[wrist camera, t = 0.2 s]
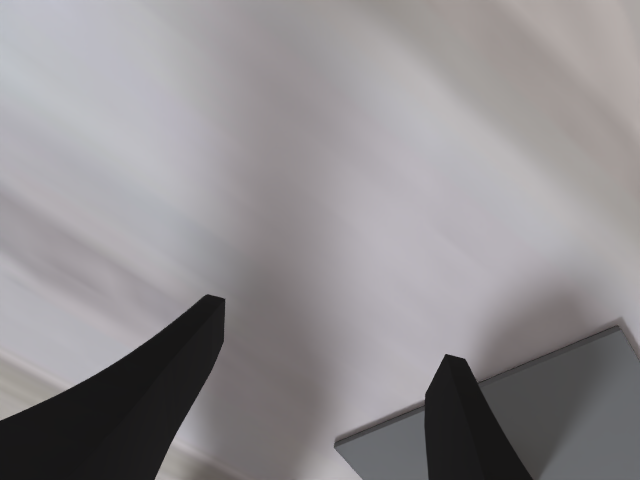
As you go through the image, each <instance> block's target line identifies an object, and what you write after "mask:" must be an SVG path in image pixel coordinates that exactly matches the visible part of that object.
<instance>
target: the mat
mask: <svg viewBox="0 0 640 480" xmlns="http://www.w3.org/2000/svg"><path fill="white" fill-rule="evenodd" d="M478 385H479V387H480V389H481V391H482V393H483V395H484V397H485V399H486V401H487V403H488V405H489V406H490V408H491V410H492V412H493V414H494V416H495V417H496V419H497V421H498V423H499V425H500V426H501V428H502V430H503V432H504V434H505V435H506V437H507V439H508V440H509V442H510V444H511V445H512V447H513V449H514V450H515V452H516V454H517V455H518V457H519V458H520V460H521V462H522V463H523V465H524V466H525V468H526V469H527V471H528V472H529V474H530V475H531V477H532V478H533V480H640V361H639V359H638V358H637V356H636V354H635V352H634V351H633V349H632V347H631V346H630V344H629V342H628V340H627V339H626V337H625V335H624V333H623V332H622V330H621V329H620V328H619V327H618V326H615V327H613V328H610V329H608V330H606V331H603V332H601V333H598V334H596V335H594V336H591V337H589V338H586V339H584V340H582V341H579V342H577V343H574V344H572V345H569V346H567V347H565V348H562V349H560V350H557V351H555V352H553V353H550V354H548V355H545V356H543V357H541V358H538V359H536V360H533V361H531V362H529V363H526V364H524V365H521V366H519V367H517V368H514V369H512V370H509V371H507V372H505V373H502V374H500V375H497V376H495V377H493V378H490V379H488V380H485V381H483V382H480V383H478ZM424 417H425V406H423V407H420V408H418V409H416V410H413V411H411V412H408V413H406V414H404V415H401V416H399V417H396V418H394V419H391V420H389V421H387V422H384V423H382V424H379V425H377V426H375V427H372V428H370V429H367V430H365V431H363V432H360V433H358V434H355V435H353V436H351V437H348V438H346V439H343V440H341V441H339V442H336V443H335V444H334V448H335V449H336V451H337V452H338V453H339V454H340V455H341V456H342V457H343V458H344V459H345V460H346V462H347V463H348V464H349V465H350V466H351V467H352V468H353V469H354V470H355V471H356V473H357V474H358V475H359V476H360V477H361V478H362V479H363V480H429V479H428V467H427V455H426V443H425V430H424Z"/></svg>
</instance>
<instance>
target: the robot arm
mask: <svg viewBox="0 0 640 480" xmlns="http://www.w3.org/2000/svg"><path fill="white" fill-rule="evenodd" d="M224 319H225V299H224V298H220V297H216V296H212V295H208V294H207V295H205V296H204V297H202V298H201V299H200V300H199V301H198V302H197V303H195V304H194V305H193V306H192V307H191V308H189V309H188V310H187V311H186V312H185V313H183V314H182V315H181V316H180V317H178V318H177V319H176V320H175V321H173V322H172V323H171V324H170V325H168V326H167V327H166V328H164V329H163V330H162V331H160V332H159V333H158V334H156V335H155V336H154V337H152V338H151V339H150V340H148V341H147V342H145V343H144V344H143V345H141V346H140V347H138V348H137V349H135V350H134V351H132V352H131V353H130V354H128V355H127V356H125V357H123V358H122V359H120V360H119V361H117V362H116V363H114V364H112V365H111V366H109V367H108V368H106V369H104V370H102V371H101V372H99V373H97V374H96V375H94V376H92V377H90V378H89V379H87V380H85V381H83V382H81V383H79V384H77V385H76V386H74V387H72V388H70V389H68V390H66V391H64V392H62V393H60V394H58V395H56V396H54V397H52V398H50V399H48V400H46V401H44V402H41V403H39V404H37V405H35V406H33V407H31V408H28V409H26V410H24V411H22V412H20V413H17V414H15V415H13V416H10V417H8V418H6V419H3V420H1V421H0V480H155V477H156V475H157V473H158V471H159V468H160V466H161V464H162V462H163V460H164V457H165V455H166V453H167V451H168V449H169V446H170V444H171V442H172V441H173V439H174V437H175V435H176V433H177V431H178V429H179V427H180V426H181V424H182V422H183V420H184V419H185V417H186V415H187V413H188V412H189V410H190V408H191V406H192V405H193V403H194V401H195V399H196V398H197V396H198V394H199V392H200V390H201V389H202V387H203V385H204V383H205V382H206V380H207V378H208V376H209V374H210V373H211V371H212V368H213V366H214V364H215V362H216V359H217V357H218V354H219V352H220V350H221V347H222V345H223V342H224ZM424 430H425V443H426V455H427V467H428V479H429V480H533V478H532V477H531V475H530V474H529V472H528V471H527V469H526V468H525V466H524V465H523V463H522V462H521V460H520V458H519V457H518V455H517V454H516V452H515V450H514V449H513V447H512V445H511V444H510V442H509V440H508V439H507V437H506V435H505V434H504V432H503V430H502V428H501V426H500V425H499V423H498V421H497V419H496V417H495V416H494V414H493V412H492V410H491V408H490V406H489V405H488V403H487V401H486V399H485V397H484V395H483V393H482V391H481V389H480V387H479V385H478V383H477V381H476V379H475V377H474V375H473V373H472V371H471V369H470V367H469V365H468V363H467V361H466V360H465V359H464V358H460V357H456V356H452V355H448V354H445V356H444V358H443V360H442V362H441V364H440V366H439V368H438V370H437V372H436V374H435V376H434V378H433V380H432V382H431V384H430V386H429V388H428V390H427V392H426V394H425V417H424Z"/></svg>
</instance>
